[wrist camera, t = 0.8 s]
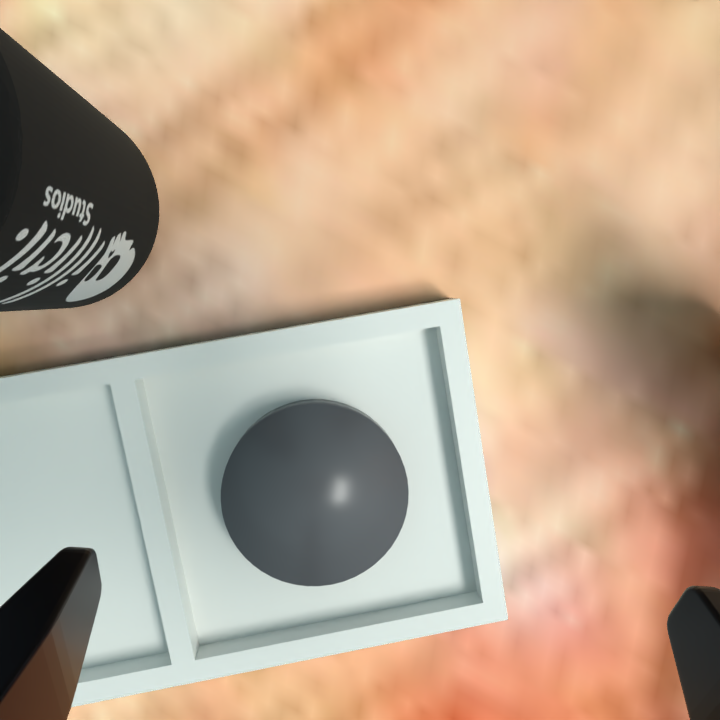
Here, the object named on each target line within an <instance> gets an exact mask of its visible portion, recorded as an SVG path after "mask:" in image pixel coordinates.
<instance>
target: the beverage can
mask: <svg viewBox="0 0 720 720" xmlns="http://www.w3.org/2000/svg"><path fill="white" fill-rule="evenodd" d="M158 223H159V200H158V193H157V188H156V184H155V181H154V178H153V175H152V172H151V170H150V168H149V166H148V164H147V162H146V160H145V158H144V156H143V155H142V153H141V152H140V150H139V149H138V147H137V146H136V145H135V144H134V142H133V141H132V140H131V139H130V138H129V137H128V136H127V135H126V134H125V133H124V132H123V131H122V130H121V129H120V128H118V127H117V126H116V125H115V124H114V123H112V122H111V121H110V120H109V119H108V118H106V117H105V116H104V115H103V114H102V113H101V112H99V111H98V110H97V109H96V108H95V107H93V106H92V105H91V104H90V103H89V102H87V101H86V100H85V99H84V98H83V97H81V96H80V95H79V94H78V93H77V92H76V91H74V90H73V89H72V88H71V87H70V86H68V85H67V84H66V83H65V82H64V81H62V80H61V79H60V78H59V77H58V76H56V75H55V74H54V73H53V72H52V71H51V70H49V69H48V68H47V67H46V66H45V65H43V64H42V63H41V62H40V61H39V60H37V59H36V58H35V57H34V56H33V55H31V54H30V53H29V52H28V51H27V50H26V49H24V48H23V47H22V46H21V45H20V44H18V43H17V42H16V41H15V40H14V39H12V38H11V37H10V36H9V35H8V34H6V33H5V32H4V31H3V30H2V29H1V28H0V312H2V311H20V310H39V309H58V308H73V307H80V306H84V305H88V304H92V303H95V302H98V301H100V300H102V299H105V298H107V297H109V296H110V295H112V294H114V293H115V292H117V291H118V290H120V289H121V288H122V287H124V286H125V285H126V284H127V283H128V282H129V281H130V280H131V279H132V278H133V277H134V276H135V275H136V274H137V273H138V272H139V270H140V269H141V268H142V266H143V265H144V263H145V261H146V260H147V258H148V256H149V254H150V252H151V250H152V247H153V244H154V242H155V238H156V234H157V230H158Z"/></svg>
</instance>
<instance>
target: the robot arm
mask: <svg viewBox="0 0 720 720" xmlns="http://www.w3.org/2000/svg"><path fill="white" fill-rule="evenodd" d="M101 590H102V583H101V577H100V571H99V565H98V560H97V555H96V552H95V550H94V549H92V548H85V547H66V548H64V549H62V550H60V551H59V552H58V553H57V554H56V555H55V556H54V557H53V558H52V559H51V560H50V561H48V562H47V563H46V564H45V565H44V566H43V567H42V568H41V569H40V570H39V571H38V572H37V573H36V574H35V575H34V576H32V577H31V578H30V579H29V580H28V581H27V582H26V583H25V584H24V585H23V586H22V587H21V588H20V589H19V590H18V591H16V592H15V593H14V594H13V595H12V596H11V597H10V598H9V599H8V600H7V601H6V602H5V603H4V604H3V605H2V606H0V720H67V717H68V714H69V711H70V709H71V706H72V702H73V699H74V695H75V692H76V688H77V684H78V681H79V677H80V673H81V669H82V665H83V662H84V658H85V654H86V650H87V647H88V643H89V639H90V635H91V632H92V628H93V624H94V620H95V617H96V613H97V609H98V605H99V601H100V597H101ZM667 629H668V635H669V639H670V643H671V647H672V650H673V654H674V658H675V662H676V666H677V670H678V674H679V678H680V682H681V686H682V690H683V694H684V698H685V702H686V706H687V710H688V714H689V717H690V720H720V590H719V589H717V588H715V587H707V586H690V587H688V588H687V589H686V590H685V591H684V593H683V594H682V596H681V597H680V599H679V600H678V602H677V604H676V605H675V607H674V608H673V610H672V611H671V613H670V614H669V617H668V621H667Z"/></svg>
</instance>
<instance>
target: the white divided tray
mask: <svg viewBox="0 0 720 720" xmlns="http://www.w3.org/2000/svg"><path fill="white" fill-rule="evenodd" d="M66 547H85V548H92V549H94V550H95V552H96V555H97V560H98V565H99V571H100V577H101V583H102V590H101V597H100V601H99V605H98V609H97V613H96V617H95V620H94V624H93V628H92V632H91V635H90V639H89V643H88V647H87V650H86V654H85V658H84V662H83V665H82V669H81V673H80V677H79V681H78V684H77V688H76V692H75V695H74V699H73V702H72V706H71V707H74V706H79V705H84V704H89V703H94V702H99V701H104V700H109V699H114V698H119V697H124V696H129V695H134V694H139V693H144V692H149V691H154V690H159V689H164V688H169V687H174V686H179V685H184V684H189V683H194V682H199V681H204V680H209V679H214V678H219V677H224V676H229V675H234V674H239V673H244V672H249V671H254V670H259V669H264V668H269V667H274V666H279V665H284V664H289V663H294V662H299V661H304V660H309V659H314V658H319V657H324V656H329V655H334V654H339V653H344V652H349V651H354V650H359V649H364V648H369V647H374V646H379V645H384V644H389V643H394V642H399V641H404V640H409V639H413V638H418V637H423V636H428V635H433V634H438V633H443V632H448V631H453V630H458V629H463V628H468V627H473V626H478V625H483V624H488V623H493V622H498V621H503V620H508V615H507V609H506V602H505V595H504V589H503V582H502V576H501V569H500V562H499V556H498V549H497V542H496V536H495V529H494V522H493V516H492V509H491V503H490V496H489V489H488V483H487V476H486V469H485V463H484V456H483V450H482V443H481V436H480V430H479V423H478V416H477V410H476V403H475V396H474V390H473V383H472V377H471V370H470V363H469V357H468V350H467V343H466V337H465V330H464V324H463V317H462V310H461V304H460V299H455V298H450V299H445V300H439V301H433V302H427V303H421V304H416V305H410V306H404V307H398V308H393V309H387V310H381V311H375V312H370V313H364V314H358V315H352V316H347V317H341V318H335V319H329V320H324V321H318V322H312V323H306V324H300V325H295V326H289V327H283V328H277V329H272V330H266V331H260V332H254V333H249V334H243V335H237V336H231V337H226V338H220V339H214V340H208V341H203V342H197V343H191V344H185V345H179V346H174V347H168V348H162V349H156V350H151V351H145V352H139V353H133V354H128V355H122V356H116V357H110V358H105V359H99V360H93V361H87V362H82V363H76V364H70V365H64V366H59V367H53V368H47V369H41V370H35V371H30V372H24V373H18V374H12V375H7V376H1V377H0V606H2V605H3V604H4V603H5V602H6V601H7V600H8V599H9V598H10V597H11V596H12V595H13V594H14V593H15V592H16V591H18V590H19V589H20V588H21V587H22V586H23V585H24V584H25V583H26V582H27V581H28V580H29V579H30V578H31V577H32V576H34V575H35V574H36V573H37V572H38V571H39V570H40V569H41V568H42V567H43V566H44V565H45V564H46V563H47V562H48V561H50V560H51V559H52V558H53V557H54V556H55V555H56V554H57V553H58V552H59V551H60V550H62V549H64V548H66Z"/></svg>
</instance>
